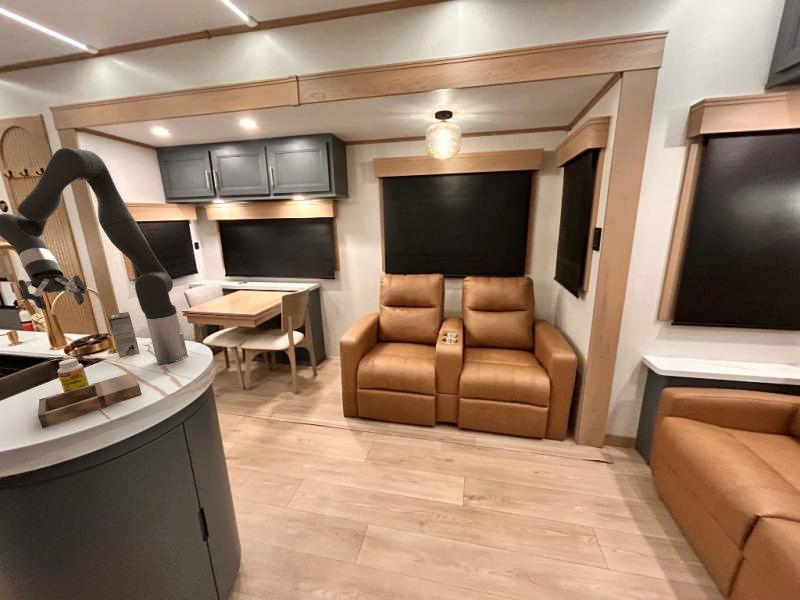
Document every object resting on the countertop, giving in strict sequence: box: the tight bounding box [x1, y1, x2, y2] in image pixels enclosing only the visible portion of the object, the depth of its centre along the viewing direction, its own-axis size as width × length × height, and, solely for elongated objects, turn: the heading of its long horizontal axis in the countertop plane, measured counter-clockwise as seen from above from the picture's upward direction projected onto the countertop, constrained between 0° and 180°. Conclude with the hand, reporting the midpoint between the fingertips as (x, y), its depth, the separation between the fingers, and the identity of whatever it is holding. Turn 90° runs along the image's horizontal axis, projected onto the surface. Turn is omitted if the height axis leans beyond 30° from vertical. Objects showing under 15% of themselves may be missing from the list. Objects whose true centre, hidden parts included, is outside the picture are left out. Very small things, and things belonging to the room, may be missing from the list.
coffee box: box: [107, 311, 140, 359], centre depth 126 cm, size 9×6×16 cm
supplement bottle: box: [56, 358, 90, 392], centre depth 97 cm, size 6×6×10 cm
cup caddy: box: [37, 372, 143, 429], centre depth 91 cm, size 20×12×4 cm, turn 137°
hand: (63, 305), depth 101 cm, fingers open, 8 cm apart
